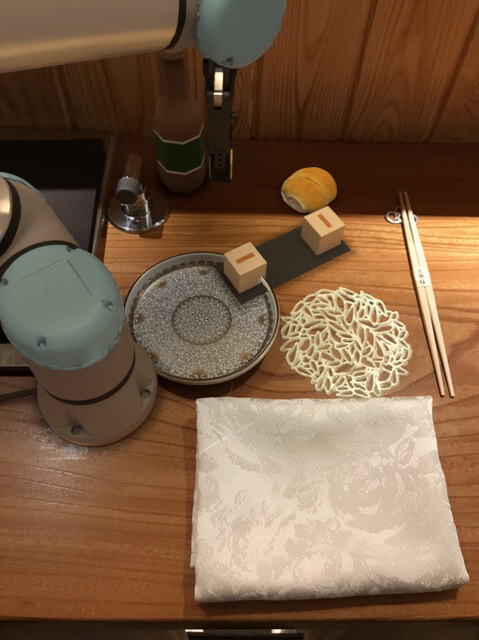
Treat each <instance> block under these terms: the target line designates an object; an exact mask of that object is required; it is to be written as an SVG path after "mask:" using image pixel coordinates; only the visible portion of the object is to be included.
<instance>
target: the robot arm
mask: <svg viewBox="0 0 479 640" xmlns="http://www.w3.org/2000/svg"><path fill="white" fill-rule="evenodd" d="M286 9H287V0H0V74H7V73H14V72H21V71H27V70H34V69H41V68H49V67H56V66H57V67H58V66H62V65H70V64H76V63H84V62H90V61H98V60H104V59H106V60H107V59H113V58H120V57H127V56H135V55H140V54H148V53H154V52H155V53H156V52H158V51H163V50H176V49H182V48H185V49H189V48H193V49H197V50H199V53H200V54H201V56H202V75H203V77H204V96H205V99H206V107H207V125H208V127H207V128H208V129H207V130H208V140H206V139H204V148H205V149H207V150H208V153H209V161H210V167H209V176H210V175H211V178H210V183H231V179H230V174H231V149H232V150H233V121H237V120H238V119H237V118H238V111H235V110H232V105H233V104H234V101H233V100H234V98H235V92H236V91H235V89H236V78H237V75H238V69H241V68H245V67H247V66H249V65H251V64H252V63H254V62H255V61H257V60H259V59H260V58H261V57H262V56H264V55H265V53H266V52H267V51H268V50H269V49H270V47H271V46H272V45H273V43H274V42H275V40H276V38H277V36H278V35H279V33H280V30H281V28H282V25H283V19H284V17H285V11H286ZM231 120H233V121H231ZM120 289H121V288H120V287H119V285H118V282H117V281H116V279H115V278H114V276H113V274H112V273H111V271H110V270H109V268H108V267H107V266H106V264H104V263H103V262H102V260H100V259H99V258H98V257H97V256H95V255H93V253H90V252H89V251H87V250H85V249H83V248H81V247H80V245H79V243H77V241H76V240H75V238H74V237H73V236H72V234H71V233H70V231H69V230H68V229H67V228H66V226H65V225H64V223H63V222H62V221H61V219H60V218H59V217H58V215H57V214H56V213H55V211H54V210H53V207H52V206H51V204H50V203H49V202H48V200H47V199H46V197H45V196H44V195H43V194H42V193H41V192H40V191H39V190H38V189H37V188H35V187H34V186H33V185H32V184H31V183H30V182H28V181H26V180H25V179H24V178H21V177H19V176H17V175H15V174H11V173H8V172H2V171H0V326H1V328H2V331H3V332H4V334H5V336H6V338H7V340H8V341H9V342H10V344H11V345H12V346H13V347H14V348H15V350H16V351H18V352H19V354H20V355H21V357H22V358H23V360H24V361H25V364H26V365H27V366H28V368H29V369H30V371H31V373H32V374H33V375H34V377H35V378H36V380H37V387H33V388H29V389H28V388H27V389H22V390H17V391H12V392H7V393H2V394H1V393H0V403H1V402H6V401H11V400H16V399H22V398H28V397H32V396H36V397H37V399H36V400H37V403H38V407H39V410H40V413H41V415H42V417H43V419H44V421H45V422H46V424H47V425H48V426H49V428H50V429H51V430H52V432H54V433H55V434H56V435H57V436H59V437H60V438H61V439H64V440H65V441H67V442H70V443H71V444H75V445H78V446H84V447H101V446H107V445H112V444H114V443H117V442H119V441H122V440H124V439H126V438H127V437H129V436H131V435H132V434H133V433H134V432H136V431H137V430H138V429H139V428H141V426H142V425H143V424H144V423H145V422H146V421H147V419H148V418H149V417H150V416H151V413H152V411H153V410H154V408H155V405H156V402H157V398H158V394H159V381H158V375H157V371H156V372H155V370H156V368H155V369H154V367H155V365H154V362H153V360H152V359H151V358H150V356H149V354H148V352H147V351H146V350H145V349H144V348H143V347H142V346H141V345H140V344H139V343H137V341H135V340H134V339H133V337H132V334H131V330H130V326H129V323H128V319H127V316H126V312H125V311H126V310H125V306H124V297H123V295H122V293H121V290H120ZM153 365H154V366H153Z"/></svg>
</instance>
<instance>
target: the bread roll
mask: <svg viewBox="0 0 479 640" xmlns="http://www.w3.org/2000/svg"><path fill="white" fill-rule="evenodd" d="M280 195H281V197H282V200H283V202H284V203H285V204H286V205H288V206H289V207H290V209H293V210H295V211H296V212H298V213H300V214H311V213H314V212H316V211H318V210H320V209H322V208H324V207H327V206H328V205H329V204H330V203H332V202H333V201H334V200H335V199H336V197H337V195H338V187H337V182H336V181H335V179H334V177H333V176H332V175H331V174H330V173H329V172H328V171H326V170H324V169H323V168H320V167H314V166H313V167H305V168H300V169H298V170H295V172H294V173H292V174H291V175H290V176H289V177H288V178H287V179H285V180H284V182H283V184H282V186H281V190H280Z"/></svg>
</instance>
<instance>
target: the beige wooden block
mask: <svg viewBox="0 0 479 640" xmlns="http://www.w3.org/2000/svg"><path fill="white" fill-rule="evenodd" d="M302 225H303V226H302ZM302 225H301V226H302V231H301V237H302V239H303V240H304V241H305V242H306V243H307V244H308V246H309V247H310V248H311V249H312V250H313V251H314V253H315V254H316V255H319V254H321V253H323V252H326V251H328V250H330V249H332V248H334V247H336V246H338V245H340V244H341V240H342V241H343V236H344V233H345V228H346V223H344V222H343V220H342V219H340V217H339V216H338V215H337V214H336V213H335V212H334V210H332V209H331V207H330V206H329V205H326V206H325V207H324V208H322V209H320V210H318V211H316V212H312V213H308V214H307V215H304V216H303V220H302Z"/></svg>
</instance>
